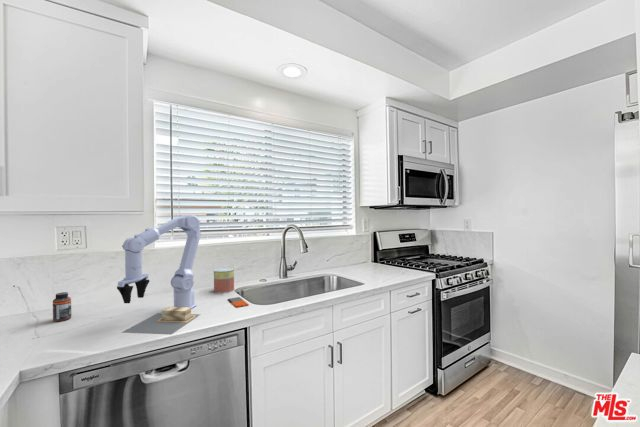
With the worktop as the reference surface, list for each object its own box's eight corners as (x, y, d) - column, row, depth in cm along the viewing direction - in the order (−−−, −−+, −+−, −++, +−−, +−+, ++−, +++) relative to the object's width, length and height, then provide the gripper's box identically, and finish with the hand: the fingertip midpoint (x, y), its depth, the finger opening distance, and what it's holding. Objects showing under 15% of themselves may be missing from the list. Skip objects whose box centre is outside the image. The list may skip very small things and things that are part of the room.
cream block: (191, 316, 126) (190, 307, 126) (184, 320, 122) (184, 310, 122) (169, 316, 128) (169, 306, 128) (162, 319, 123) (162, 310, 123)
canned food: (218, 287, 177) (218, 267, 177) (236, 287, 177) (236, 267, 177) (210, 292, 166) (210, 271, 166) (230, 292, 166) (230, 271, 166)
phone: (235, 306, 140) (227, 298, 152) (235, 309, 140) (227, 301, 152) (249, 303, 143) (239, 296, 156) (249, 306, 143) (239, 299, 156)
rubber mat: (157, 314, 132) (157, 312, 132) (200, 315, 129) (200, 314, 129) (121, 333, 111) (121, 332, 111) (171, 335, 109) (171, 334, 109)
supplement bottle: (53, 319, 127) (52, 293, 126) (71, 316, 130) (71, 290, 130) (52, 323, 122) (52, 295, 122) (71, 319, 126) (71, 293, 126)
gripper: (137, 263, 129) (137, 294, 129) (110, 270, 115) (110, 305, 115) (152, 264, 128) (152, 295, 128) (127, 270, 114) (127, 306, 114)
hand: (134, 300), depth 121 cm, fingers open, 7 cm apart
